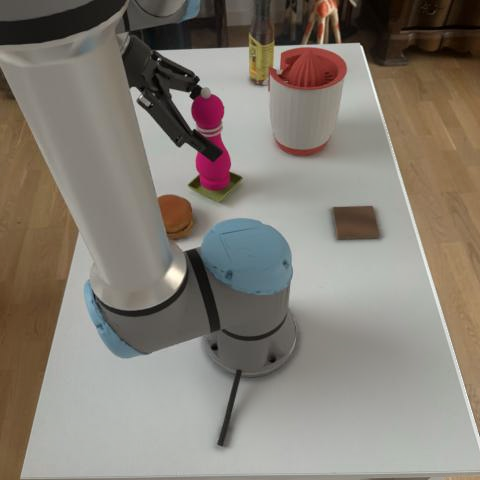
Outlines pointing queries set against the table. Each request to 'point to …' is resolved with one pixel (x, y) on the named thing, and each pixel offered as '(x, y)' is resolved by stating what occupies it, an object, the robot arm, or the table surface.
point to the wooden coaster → (355, 222)
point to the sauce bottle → (261, 42)
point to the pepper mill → (210, 125)
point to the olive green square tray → (217, 194)
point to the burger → (176, 215)
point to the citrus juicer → (305, 98)
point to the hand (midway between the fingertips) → (219, 133)
